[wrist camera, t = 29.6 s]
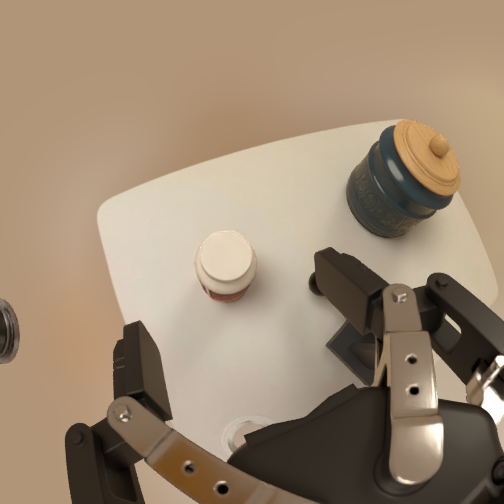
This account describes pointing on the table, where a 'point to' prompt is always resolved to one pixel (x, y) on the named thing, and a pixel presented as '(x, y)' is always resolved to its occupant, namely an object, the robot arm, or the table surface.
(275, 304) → the table surface
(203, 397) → the table surface
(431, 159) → the canister
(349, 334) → the bracket
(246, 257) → the pill bottle
